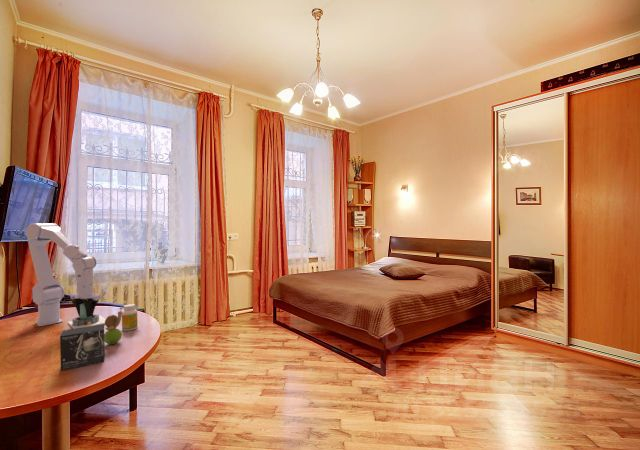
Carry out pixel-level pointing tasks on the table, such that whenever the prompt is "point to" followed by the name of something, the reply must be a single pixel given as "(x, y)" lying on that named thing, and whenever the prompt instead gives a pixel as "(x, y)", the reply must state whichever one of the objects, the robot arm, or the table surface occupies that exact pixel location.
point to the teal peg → (83, 312)
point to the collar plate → (87, 321)
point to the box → (82, 346)
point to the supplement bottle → (129, 317)
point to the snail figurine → (113, 328)
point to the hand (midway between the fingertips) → (85, 315)
